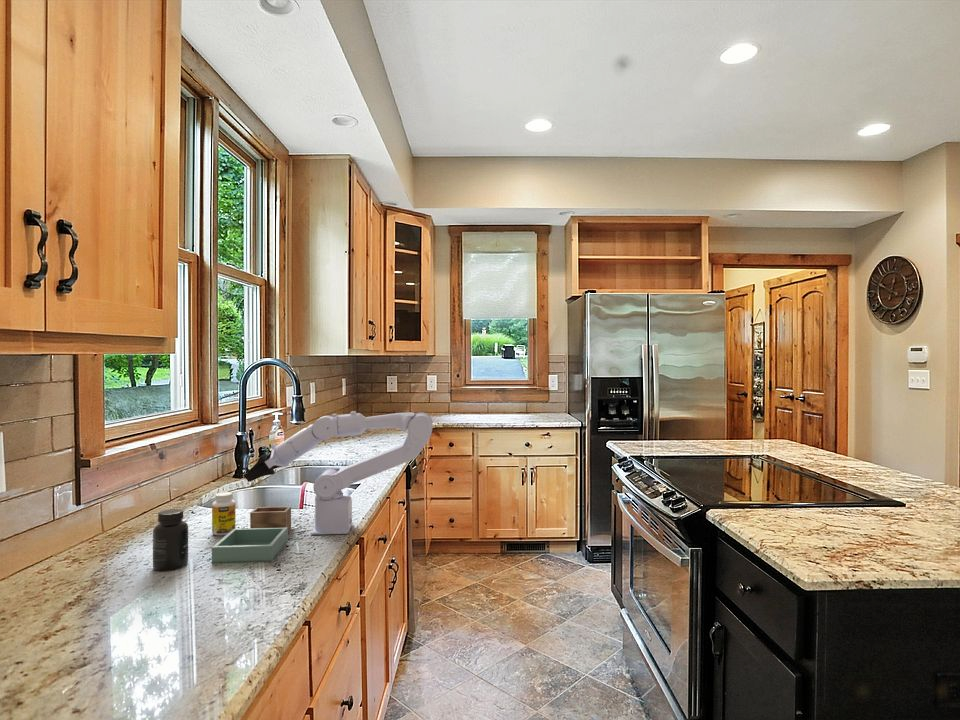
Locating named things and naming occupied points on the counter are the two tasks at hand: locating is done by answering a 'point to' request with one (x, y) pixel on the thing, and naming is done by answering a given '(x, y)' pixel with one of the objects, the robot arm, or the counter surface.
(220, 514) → the supplement bottle
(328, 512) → the robot arm
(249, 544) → the green crate
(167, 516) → the supplement bottle
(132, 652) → the counter surface
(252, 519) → the walnut crate
